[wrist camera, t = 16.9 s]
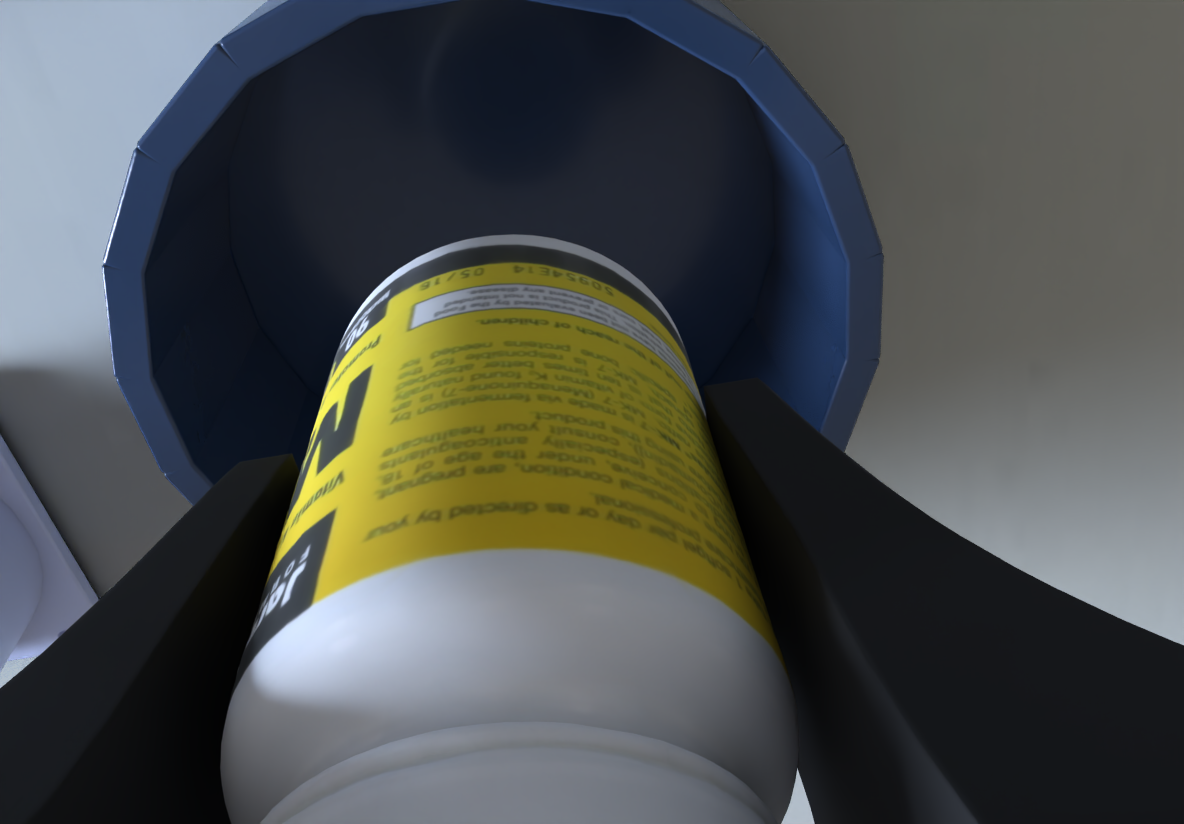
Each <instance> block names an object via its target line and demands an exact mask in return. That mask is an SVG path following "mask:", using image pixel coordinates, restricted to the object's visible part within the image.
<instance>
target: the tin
mask: <svg viewBox="0 0 1184 824" xmlns="http://www.w3.org/2000/svg"><path fill="white" fill-rule="evenodd" d="M513 234H515V235H534V236H542V237H548V238H554V239H558V240H562V241H566V242H570V243H573V244H576V245H579V246H583V247H585V248H587V249H590V250H592V251H594V252H597V253H599V254H601V255H603V256H605V257H607V258H608V259H610V260H612V261H614V262H615V263H617V264H619V265H620V266H622V267H623V268H625V269H626V270H628V271H629V272H630V273H631V274H633V275H634V276H635V277H636V278H638V279H639V280H640V281H641V282H642V283H643V284H644V285H645V286H646V287H647V288H648V289H649V290H650V291H651V292H652V293H653V294H654V296H655V297H656V298H657V299H658V300H659V301H660V302H661V304H662V305H663V307H664V308H665V310H666V311H667V312H668V314H669V315H670V317H671V319H672V321H673V322H674V324H675V326H676V328H677V330H678V333H679V335H680V337H681V340H682V342H683V345H684V348H685V350H686V352H687V355H688V358H689V361H690V364H691V368H692V371H693V374H694V378H695V382H696V385H697V388H698V390H699V394H700V397H701V401H702V404H703V407H704V410H705V414H706V407H705V396H704V386H708V385H714V384H721V383H727V382H733V381H739V380H745V379H751V378H759V379H760V380H761V381H762V382H764V383H765V384H766V385H768V386H769V387H770V388H771V389H772V390H773V391H774V392H775V393H776V394H777V395H779V396H780V397H781V398H782V399H783V400H784V401H785V402H786V403H787V404H788V405H789V406H790V407H792V408H793V409H794V410H795V411H796V412H797V413H798V414H799V415H800V416H802V417H803V418H804V419H805V420H806V421H807V422H808V423H810V424H811V425H812V426H813V427H814V428H815V429H816V430H818V431H819V432H820V433H821V434H822V435H823V436H824V437H826V438H827V439H828V440H829V441H830V442H832V443H833V444H834V445H835V446H836V447H838V448H839V449H840V450H841V451H843V452H844V451H845V449H846V446H847V444H848V441H849V439H850V436H851V434H852V431H853V428H854V426H855V423H856V421H857V418H858V415H859V413H860V410H861V408H862V405H863V403H864V400H865V397H866V395H867V392H868V390H869V387H870V384H871V382H872V379H873V377H874V374H875V372H876V369H877V366H878V364H879V358H880V350H881V321H882V292H883V263H884V255H883V253H882V245H881V242H880V239H879V236H878V233H877V230H876V227H875V224H874V221H873V218H872V215H871V212H870V209H869V206H868V203H867V200H866V197H865V194H864V191H863V188H862V185H861V182H860V179H859V176H858V173H857V170H856V167H855V164H854V161H853V158H852V155H851V152H850V149H849V146H848V145H847V144H846V143H845V140H844V137H843V136H842V135H841V134H840V133H839V131H838V130H837V129H836V128H835V127H834V125H833V124H832V123H831V122H830V120H829V119H828V118H827V117H826V116H825V114H824V113H823V112H822V111H821V109H820V108H819V107H818V106H817V105H816V103H815V102H814V101H813V100H812V98H811V97H810V96H809V95H808V94H807V92H806V91H805V90H804V89H803V87H802V86H801V85H800V84H799V83H798V81H797V80H796V79H795V78H794V77H793V75H792V74H791V73H790V72H789V70H788V69H787V68H786V67H785V66H784V64H783V63H782V62H781V61H780V59H779V58H778V57H777V56H776V55H775V53H774V52H773V51H772V50H771V48H770V47H769V46H768V45H767V44H766V43H765V42H764V41H762V40H761V39H760V38H759V37H758V36H757V35H756V34H755V33H754V32H753V31H752V30H751V29H749V28H748V27H747V26H746V25H745V24H744V23H743V22H742V21H741V20H740V19H739V18H738V17H736V16H735V15H734V14H733V13H732V12H731V11H730V10H729V9H728V8H727V7H726V6H725V5H723V4H722V3H721V2H720V1H719V0H268V1H267V2H265V3H264V4H263V5H262V6H261V7H259V8H258V9H257V10H256V11H255V12H253V13H252V14H251V15H250V16H248V17H247V18H246V19H245V20H244V21H242V22H241V23H240V24H239V25H238V26H236V27H235V28H234V29H233V30H231V31H230V32H229V33H228V34H227V35H225V36H224V37H223V38H222V39H221V40H220V41H218V42H217V43H216V44H215V45H214V46H213V47H212V48H211V50H210V51H209V52H208V53H207V55H206V56H205V57H204V59H203V60H202V61H201V62H200V64H199V65H198V66H197V67H196V69H195V70H194V71H193V73H192V74H191V75H190V76H189V78H188V79H187V80H186V81H185V83H184V84H183V85H182V87H181V88H180V89H179V90H178V92H177V93H176V94H175V95H174V97H173V98H172V99H171V101H170V102H169V103H168V104H167V106H166V107H165V108H164V109H163V111H162V112H161V113H160V115H159V116H158V117H157V118H156V120H155V121H154V122H153V123H152V125H151V126H150V127H149V129H148V130H147V131H146V132H145V134H144V135H143V136H142V137H141V139H140V140H139V141H138V143H137V148H136V149H135V150H134V151H133V155H132V158H131V162H130V165H129V169H128V172H127V176H126V180H125V183H124V187H123V190H122V194H121V197H120V201H119V205H118V208H117V212H116V215H115V219H114V222H113V226H112V230H111V233H110V237H109V240H108V244H107V247H106V251H105V255H104V258H103V260H104V264H103V266H102V272H103V281H104V290H105V299H106V308H107V317H108V326H109V335H110V344H111V353H112V362H113V371H114V376H115V377H116V380H117V383H118V385H119V387H120V389H121V391H122V393H123V395H124V397H125V399H126V401H127V403H128V405H129V407H130V409H131V411H132V413H133V415H134V417H135V419H136V421H137V423H138V425H139V428H140V430H141V432H142V434H143V436H144V438H145V440H146V442H147V444H148V446H149V448H150V450H151V452H152V454H153V456H154V458H155V460H156V462H157V464H158V466H159V468H160V470H161V471H162V472H163V473H164V475H165V477H166V478H167V479H168V480H169V481H170V483H171V484H172V485H173V486H174V487H175V488H176V489H177V490H178V491H179V492H180V493H181V494H182V495H183V496H184V497H185V498H186V499H187V500H188V501H189V502H190V503H191V504H192V505H193V506H194V505H195V504H196V503H197V502H198V501H199V500H200V499H201V498H202V497H203V496H204V495H205V494H206V493H207V492H208V491H209V490H210V489H211V488H212V487H213V486H214V485H215V484H216V483H217V482H218V481H219V480H220V479H221V478H222V477H223V476H224V475H225V474H226V473H227V472H229V471H230V470H231V469H232V468H233V467H234V466H236V465H237V464H238V463H239V462H242V461H248V460H254V459H260V458H267V457H273V456H279V455H285V454H291V453H292V454H293V457H294V459H295V462H296V465H297V467H298V470H299V472H300V471H301V467H302V464H303V461H304V459H305V456H306V453H307V450H308V446H309V442H310V438H311V435H312V432H313V429H314V426H315V422H316V419H317V416H318V413H319V410H320V406H321V403H322V399H323V395H324V391H325V387H326V384H327V381H328V378H329V375H330V371H331V368H332V365H333V362H334V359H335V356H336V353H337V350H338V348H339V346H340V343H341V341H342V339H343V336H344V334H345V332H346V330H347V328H348V326H349V324H350V322H351V320H352V319H353V317H354V316H355V314H356V313H357V311H358V310H359V308H360V307H361V305H362V304H363V303H364V302H365V300H366V299H367V298H368V297H369V296H370V294H371V293H372V292H373V291H374V290H375V289H376V288H377V287H378V286H379V285H380V284H381V283H382V282H383V281H384V280H386V279H387V278H388V277H389V276H390V275H392V274H393V273H394V272H396V271H397V270H398V269H400V268H401V267H403V266H404V265H406V264H408V263H409V262H411V261H412V260H414V259H416V258H418V257H420V256H422V255H424V254H426V253H428V252H431V251H433V250H435V249H437V248H440V247H443V246H446V245H449V244H451V243H455V242H459V241H463V240H467V239H472V238H478V237H485V236H493V235H513Z"/></svg>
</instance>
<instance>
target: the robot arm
mask: <svg viewBox="0 0 1184 824" xmlns="http://www.w3.org/2000/svg"><path fill="white" fill-rule="evenodd" d="M704 396H705V407H706V418H707V422H708V425H709V428H710V432H711V435H712V438H713V441H714V445H715V448H716V451H717V454H718V457H719V461H720V464H721V467H722V470H723V474H724V477H725V480H726V483H727V486H728V489H729V492H730V496H731V499H732V502H733V505H734V508H735V511H736V515H737V518H738V522H739V525H740V528H741V531H742V533H743V536H744V539H745V542H746V546H747V549H748V553H749V556H750V559H751V562H752V565H753V568H754V571H755V574H756V578H757V581H758V584H759V587H760V590H761V593H762V596H763V599H764V602H765V605H766V608H767V611H768V614H769V617H770V620H771V624H772V627H773V630H774V633H775V636H776V639H777V641H778V644H779V647H780V650H781V653H782V656H783V659H784V662H785V665H786V668H787V671H788V674H789V678H790V682H791V685H792V689H793V692H794V697H795V701H796V706H797V713H798V724H799V755H798V767H797V768H798V771H799V774H800V777H801V780H802V783H803V786H804V789H805V792H806V795H807V798H808V801H809V804H810V807H811V811H812V815H813V818H814V822H815V824H1184V645H1181V644H1179V643H1176V642H1173V641H1171V640H1169V639H1166V638H1164V637H1162V636H1159V635H1157V634H1155V633H1152V632H1150V631H1148V630H1145V629H1143V628H1141V627H1138V626H1136V625H1133V624H1131V623H1129V622H1126V621H1124V620H1122V619H1120V618H1117V617H1115V616H1113V615H1111V614H1109V613H1107V612H1105V611H1103V610H1101V609H1098V608H1096V607H1094V606H1092V605H1090V604H1088V603H1086V602H1084V601H1082V600H1079V599H1077V598H1075V597H1073V596H1071V595H1069V594H1067V593H1065V592H1063V591H1060V590H1058V589H1056V588H1054V587H1052V586H1050V585H1048V584H1046V583H1044V582H1042V581H1040V580H1039V579H1037V578H1035V577H1033V576H1031V575H1029V574H1027V573H1025V572H1023V571H1021V570H1019V569H1017V568H1016V567H1014V566H1012V565H1010V564H1009V563H1007V562H1005V561H1003V560H1002V559H1000V558H998V557H996V556H995V555H993V554H991V553H989V552H988V551H986V550H984V549H982V548H981V547H979V546H977V545H975V544H974V543H972V542H970V541H968V540H967V539H965V538H963V537H961V536H960V535H958V534H957V533H955V532H953V531H952V530H950V529H949V528H947V527H945V526H944V525H942V524H941V523H939V522H937V521H936V520H934V519H933V518H931V517H930V516H928V515H927V514H925V513H924V512H923V511H921V510H920V509H918V508H917V507H915V506H914V505H913V504H911V503H910V502H908V501H907V500H905V499H904V498H902V497H901V496H900V495H898V494H897V493H896V492H894V491H893V490H891V489H890V488H889V487H887V486H886V485H885V484H883V483H882V482H881V481H879V480H878V479H877V478H875V477H874V476H873V475H872V474H870V473H869V472H868V471H867V470H865V469H864V468H863V467H861V466H860V465H859V464H858V463H856V462H855V461H854V460H853V459H851V458H850V457H849V456H848V455H846V454H845V453H844V452H843V451H841V450H840V449H839V448H838V447H836V446H835V445H834V444H833V443H832V442H830V441H829V440H828V439H827V438H826V437H824V436H823V435H822V434H821V433H820V432H819V431H818V430H816V429H815V428H814V427H813V426H812V425H811V424H810V423H808V422H807V421H806V420H805V419H804V418H803V417H802V416H800V415H799V414H798V413H797V412H796V411H795V410H794V409H793V408H792V407H790V406H789V405H788V404H787V403H786V402H785V401H784V400H783V399H782V398H781V397H780V396H779V395H777V394H776V393H775V392H774V391H773V390H772V389H771V388H770V387H769V386H768V385H766V384H765V383H764V382H762V381H761V380H760V379H759V378H751V379H745V380H739V381H733V382H727V383H721V384H714V385H708V386H704ZM299 474H300V472H299V470H298V467H297V465H296V462H295V459H294V457H293V454H292V453H291V454H285V455H279V456H273V457H267V458H260V459H254V460H248V461H242V462H239V463H238V464H237V465H236V466H234V467H233V468H232V469H231V470H230V471H229V472H227V473H226V474H225V475H224V476H223V477H222V478H221V479H220V480H219V481H218V482H217V483H216V484H215V485H214V486H213V487H212V488H211V489H210V490H209V491H208V492H207V493H206V494H205V495H204V496H203V497H202V498H201V499H200V500H199V501H198V502H197V503H196V504H195V505H194V506H193V507H192V508H191V509H190V510H189V511H188V512H187V513H186V514H185V515H184V516H183V517H182V518H181V519H180V520H179V521H178V522H177V523H176V524H175V525H174V526H173V527H172V528H171V530H170V531H169V532H168V533H167V534H166V535H165V536H164V537H163V538H162V539H161V540H160V541H159V542H158V543H157V544H156V545H155V546H154V547H153V548H152V549H151V550H150V551H149V552H148V553H147V554H146V555H145V556H144V557H143V558H142V559H141V560H140V561H139V562H138V563H137V564H136V565H135V566H134V567H133V568H132V569H131V570H130V571H129V572H128V573H127V574H126V575H125V576H124V577H123V578H122V579H121V580H120V581H119V582H118V583H117V584H116V585H115V586H114V587H112V588H111V589H110V590H109V591H108V592H107V593H106V594H105V595H104V596H103V597H102V598H101V599H100V600H99V599H98V597H97V596H96V594H95V592H94V591H93V589H92V587H91V586H90V584H89V582H88V581H87V579H86V577H85V576H84V574H83V572H82V570H81V569H80V567H79V565H78V564H77V562H76V560H75V559H74V557H73V555H72V554H71V552H70V550H69V549H68V547H67V545H66V544H65V542H64V540H63V539H62V537H61V535H60V534H59V532H58V530H57V529H56V527H55V525H54V524H53V522H52V520H51V518H50V517H49V515H48V513H47V512H46V510H45V508H44V507H43V505H42V503H41V502H40V500H39V498H38V497H37V495H36V493H35V492H34V490H33V488H32V487H31V485H30V483H29V482H28V480H27V478H26V477H25V475H24V473H23V472H22V470H21V468H20V467H19V465H18V463H17V461H16V460H15V458H14V456H13V455H12V453H11V451H10V450H9V448H8V446H7V445H6V443H5V441H4V440H3V438H2V436H1V435H0V672H1V670H2V668H3V667H4V665H5V663H6V662H7V661H11V660H17V659H23V658H30V657H36V656H38V657H37V658H36V659H34V660H33V661H32V662H31V663H30V664H29V665H27V666H26V667H25V668H24V669H23V670H22V671H20V672H19V673H18V674H17V675H16V676H14V677H13V678H12V679H11V680H10V681H9V682H7V683H6V684H5V685H4V686H3V687H1V688H0V824H231V821H230V818H229V815H228V812H227V808H226V805H225V800H224V795H223V789H222V782H221V772H220V763H221V742H222V737H223V730H224V724H225V720H226V715H227V711H228V706H229V702H230V697H231V693H232V690H233V687H234V684H235V680H236V675H237V671H238V668H239V666H240V662H241V658H242V655H243V653H244V650H245V647H246V645H247V642H248V639H249V637H250V634H251V631H252V627H253V624H254V621H255V618H256V616H257V612H258V609H259V605H260V601H261V598H262V594H263V591H264V588H265V585H266V582H267V579H268V575H269V572H270V569H271V566H272V562H273V560H274V557H275V553H276V549H277V545H278V542H279V540H280V537H281V533H282V530H283V526H284V523H285V519H286V515H287V512H288V510H289V507H290V503H291V500H292V497H293V493H294V490H295V486H296V483H297V480H298V477H299Z"/></svg>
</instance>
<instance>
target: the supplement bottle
mask: <svg viewBox="0 0 1184 824" xmlns="http://www.w3.org/2000/svg"><path fill="white" fill-rule="evenodd" d="M798 755H799V724H798V713H797V706H796V701H795V697H794V692H793V689H792V685H791V682H790V678H789V674H788V671H787V668H786V665H785V662H784V659H783V656H782V653H781V650H780V647H779V644H778V641H777V639H776V636H775V633H774V630H773V627H772V624H771V620H770V617H769V614H768V611H767V608H766V605H765V602H764V599H763V596H762V593H761V590H760V587H759V584H758V581H757V578H756V574H755V571H754V568H753V565H752V562H751V559H750V556H749V553H748V549H747V546H746V542H745V539H744V536H743V533H742V531H741V528H740V525H739V522H738V518H737V515H736V511H735V508H734V505H733V502H732V499H731V496H730V492H729V489H728V486H727V483H726V480H725V477H724V474H723V470H722V467H721V464H720V461H719V457H718V454H717V451H716V448H715V445H714V441H713V438H712V435H711V432H710V428H709V425H708V422H707V418H706V414H705V410H704V407H703V404H702V401H701V397H700V394H699V390H698V388H697V385H696V382H695V378H694V374H693V371H692V368H691V364H690V361H689V358H688V355H687V352H686V350H685V348H684V345H683V342H682V340H681V337H680V335H679V333H678V330H677V328H676V326H675V324H674V322H673V321H672V319H671V317H670V315H669V314H668V312H667V311H666V310H665V308H664V307H663V305H662V304H661V302H660V301H659V300H658V299H657V298H656V297H655V296H654V294H653V293H652V292H651V291H650V290H649V289H648V288H647V287H646V286H645V285H644V284H643V283H642V282H641V281H640V280H639V279H638V278H636V277H635V276H634V275H633V274H631V273H630V272H629V271H628V270H626V269H625V268H623V267H622V266H620V265H619V264H617V263H615V262H614V261H612V260H610V259H608V258H607V257H605V256H603V255H601V254H599V253H597V252H594V251H592V250H590V249H587V248H585V247H583V246H579V245H576V244H573V243H570V242H566V241H562V240H558V239H554V238H548V237H542V236H534V235H515V234H513V235H493V236H485V237H478V238H472V239H467V240H463V241H459V242H455V243H451V244H449V245H446V246H443V247H440V248H437V249H435V250H433V251H431V252H428V253H426V254H424V255H422V256H420V257H418V258H416V259H414V260H412V261H411V262H409V263H408V264H406V265H404V266H403V267H401V268H400V269H398V270H397V271H396V272H394V273H393V274H392V275H390V276H389V277H388V278H387V279H386V280H384V281H383V282H382V283H381V284H380V285H379V286H378V287H377V288H376V289H375V290H374V291H373V292H372V293H371V294H370V296H369V297H368V298H367V299H366V300H365V302H364V303H363V304H362V305H361V307H360V308H359V310H358V311H357V313H356V314H355V316H354V317H353V319H352V320H351V322H350V324H349V326H348V328H347V330H346V332H345V334H344V336H343V339H342V341H341V343H340V346H339V348H338V350H337V353H336V356H335V359H334V362H333V365H332V368H331V371H330V375H329V378H328V381H327V384H326V387H325V391H324V395H323V399H322V403H321V406H320V410H319V413H318V416H317V419H316V422H315V426H314V429H313V432H312V435H311V438H310V442H309V446H308V450H307V453H306V456H305V459H304V461H303V464H302V467H301V471H300V474H299V477H298V480H297V483H296V486H295V490H294V493H293V497H292V500H291V503H290V507H289V510H288V512H287V515H286V519H285V523H284V526H283V530H282V533H281V537H280V540H279V542H278V545H277V549H276V553H275V557H274V560H273V562H272V566H271V569H270V572H269V575H268V579H267V582H266V585H265V588H264V591H263V594H262V598H261V601H260V605H259V609H258V612H257V616H256V618H255V621H254V624H253V627H252V631H251V634H250V637H249V639H248V642H247V645H246V647H245V650H244V653H243V655H242V658H241V662H240V666H239V668H238V671H237V675H236V680H235V684H234V687H233V690H232V693H231V697H230V702H229V706H228V711H227V715H226V720H225V724H224V730H223V737H222V742H221V763H220V772H221V782H222V789H223V795H224V800H225V805H226V808H227V812H228V815H229V818H230V821H231V824H781V823H782V820H783V818H784V816H785V814H786V812H787V809H788V806H789V803H790V801H791V796H792V792H793V788H794V784H795V779H796V773H797V767H798Z"/></svg>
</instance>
